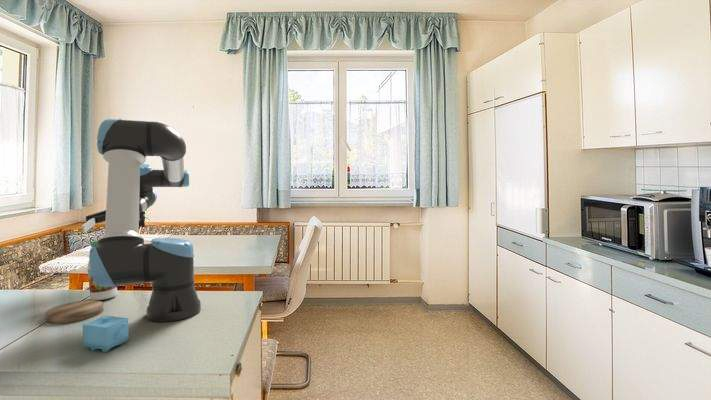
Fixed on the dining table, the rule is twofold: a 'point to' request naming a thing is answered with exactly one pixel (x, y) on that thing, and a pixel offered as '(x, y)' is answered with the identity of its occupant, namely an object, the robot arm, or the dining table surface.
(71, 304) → the brown round coaster
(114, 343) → the light blue box
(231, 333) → the dining table surface
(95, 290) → the milk bottle
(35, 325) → the dining table surface
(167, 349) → the dining table surface
